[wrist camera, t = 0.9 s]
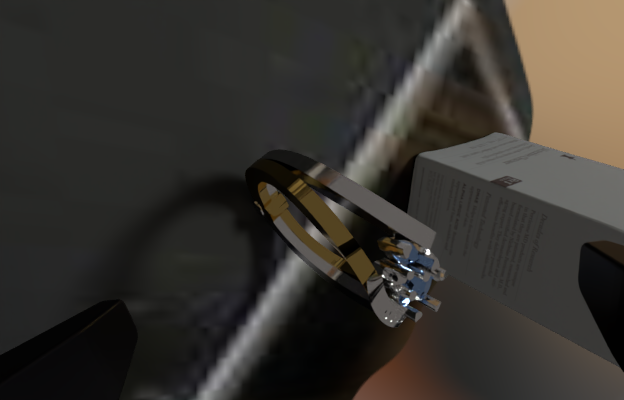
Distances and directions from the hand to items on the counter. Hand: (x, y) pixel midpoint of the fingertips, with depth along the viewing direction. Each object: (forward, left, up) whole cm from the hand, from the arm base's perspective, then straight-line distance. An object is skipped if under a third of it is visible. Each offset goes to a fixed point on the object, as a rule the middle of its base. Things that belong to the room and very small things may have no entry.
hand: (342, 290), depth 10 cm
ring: (+5, -3, -9) cm, 10 cm away
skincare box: (+18, -7, -9) cm, 21 cm away
